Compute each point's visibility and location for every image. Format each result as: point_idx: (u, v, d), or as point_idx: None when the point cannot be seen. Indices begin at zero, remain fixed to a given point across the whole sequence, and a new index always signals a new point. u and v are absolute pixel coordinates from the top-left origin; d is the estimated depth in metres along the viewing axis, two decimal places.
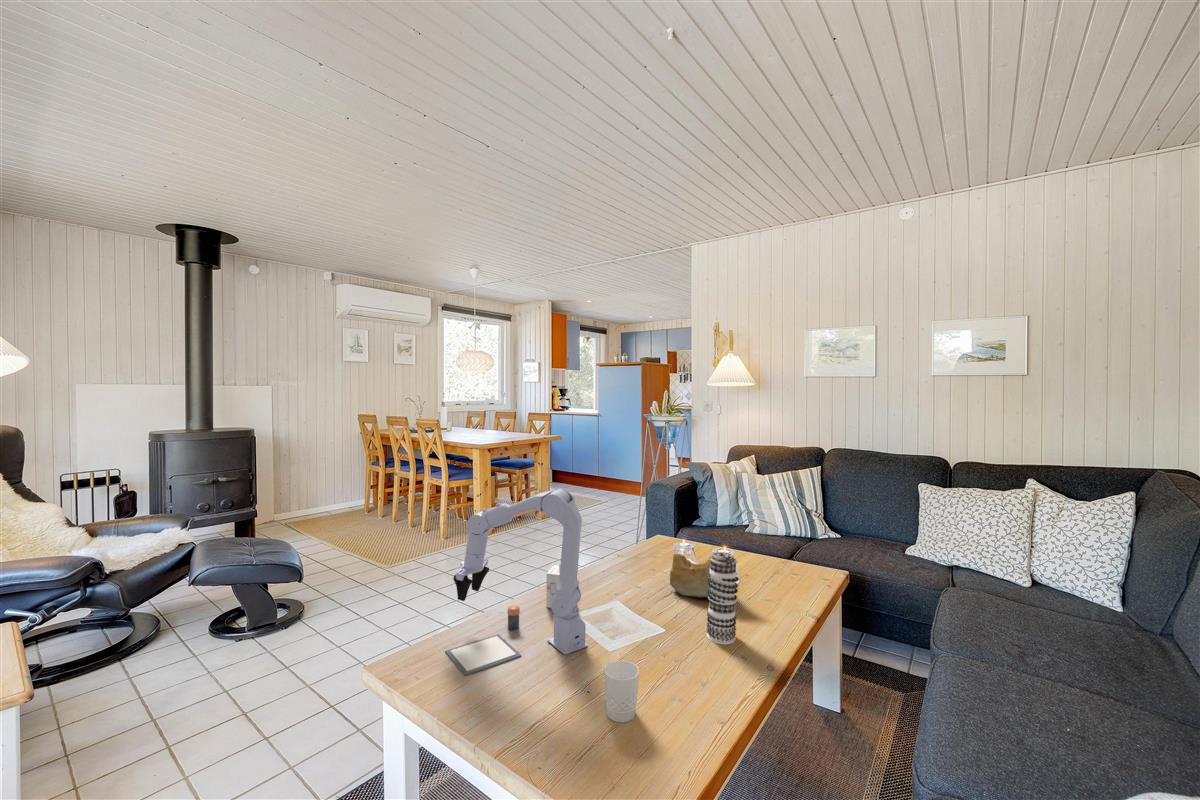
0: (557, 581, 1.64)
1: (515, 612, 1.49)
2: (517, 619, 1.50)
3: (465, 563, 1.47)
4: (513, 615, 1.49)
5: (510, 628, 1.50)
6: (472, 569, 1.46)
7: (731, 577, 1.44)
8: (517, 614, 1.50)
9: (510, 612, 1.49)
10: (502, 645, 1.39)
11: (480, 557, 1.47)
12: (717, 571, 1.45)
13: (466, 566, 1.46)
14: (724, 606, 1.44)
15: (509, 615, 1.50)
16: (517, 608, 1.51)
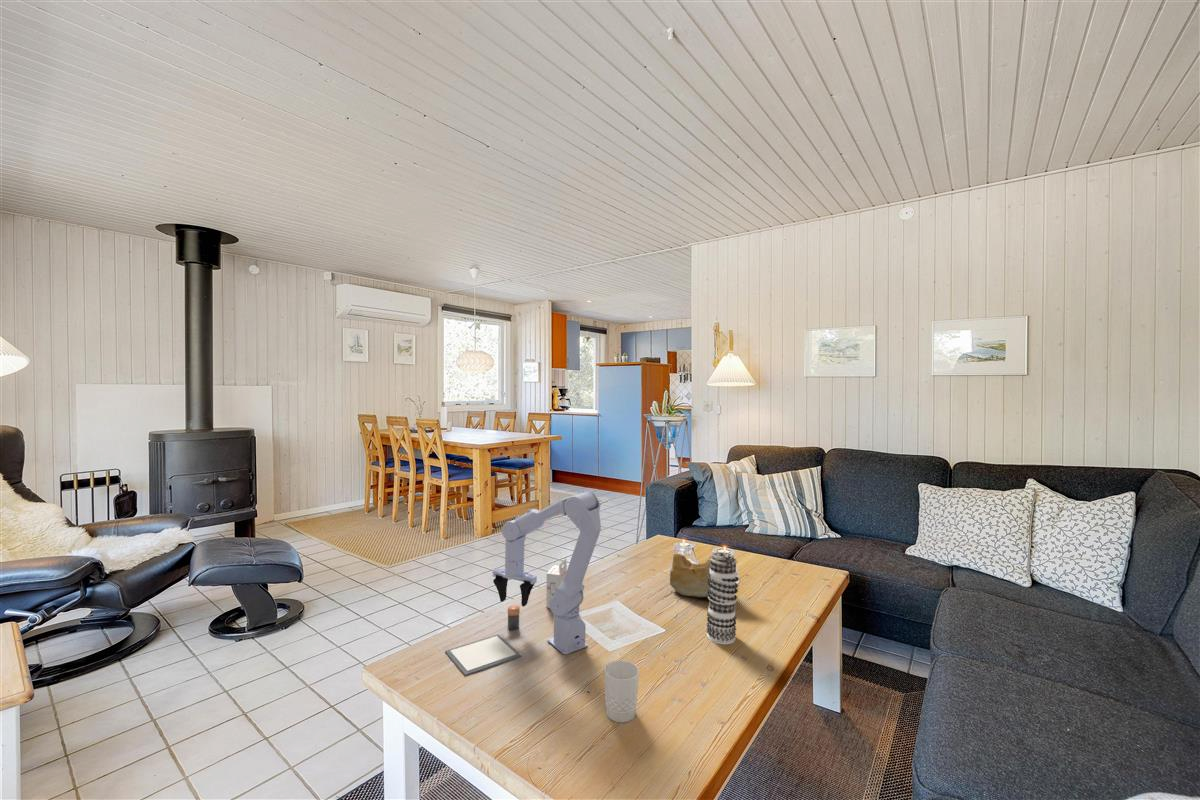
0: (557, 581, 1.64)
1: (515, 612, 1.49)
2: (517, 619, 1.50)
3: None
4: (513, 615, 1.49)
5: (510, 628, 1.50)
6: (504, 572, 1.51)
7: (731, 577, 1.44)
8: (517, 614, 1.50)
9: (510, 612, 1.49)
10: (502, 645, 1.39)
11: (506, 563, 1.49)
12: (717, 571, 1.45)
13: None
14: (724, 606, 1.44)
15: (509, 615, 1.50)
16: (517, 608, 1.51)
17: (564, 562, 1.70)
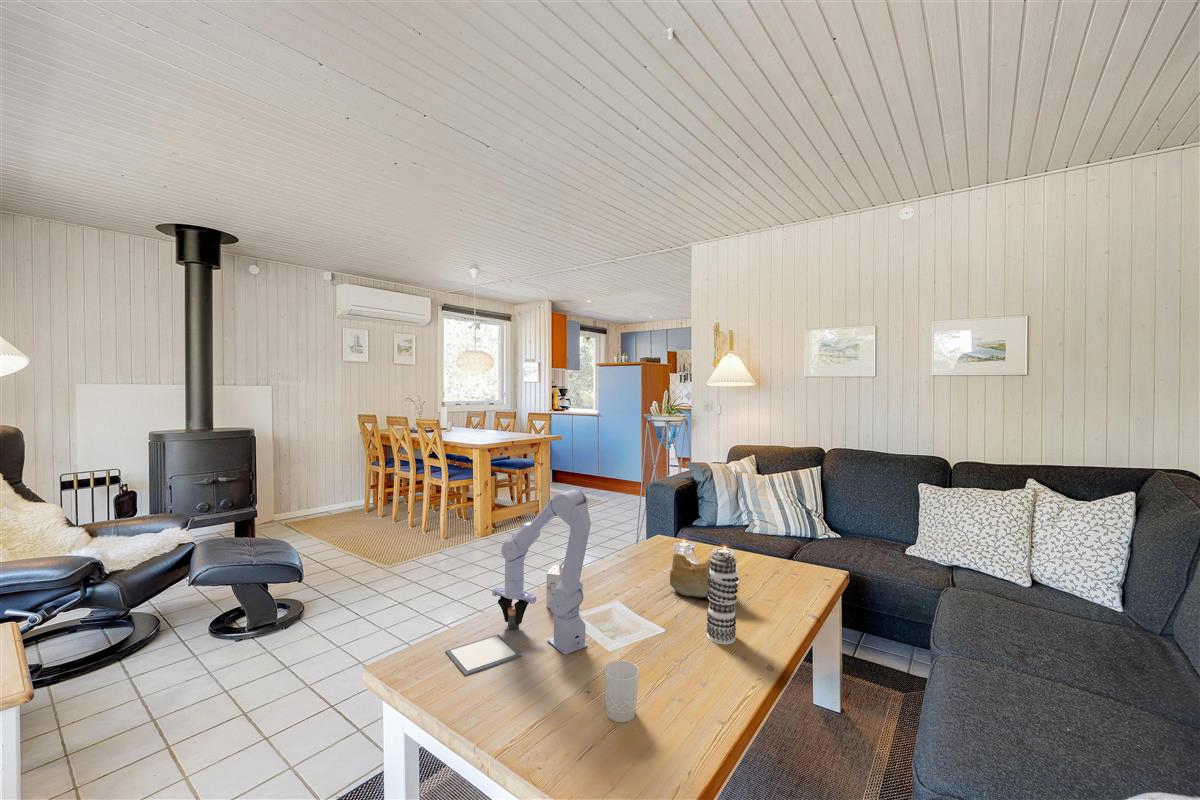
0: (557, 581, 1.64)
1: (515, 612, 1.49)
2: None
3: None
4: (513, 615, 1.49)
5: (510, 628, 1.50)
6: (504, 592, 1.51)
7: (731, 577, 1.44)
8: None
9: (510, 612, 1.49)
10: (502, 645, 1.39)
11: (506, 582, 1.49)
12: (717, 571, 1.45)
13: None
14: (724, 606, 1.44)
15: (509, 615, 1.50)
16: None
17: None
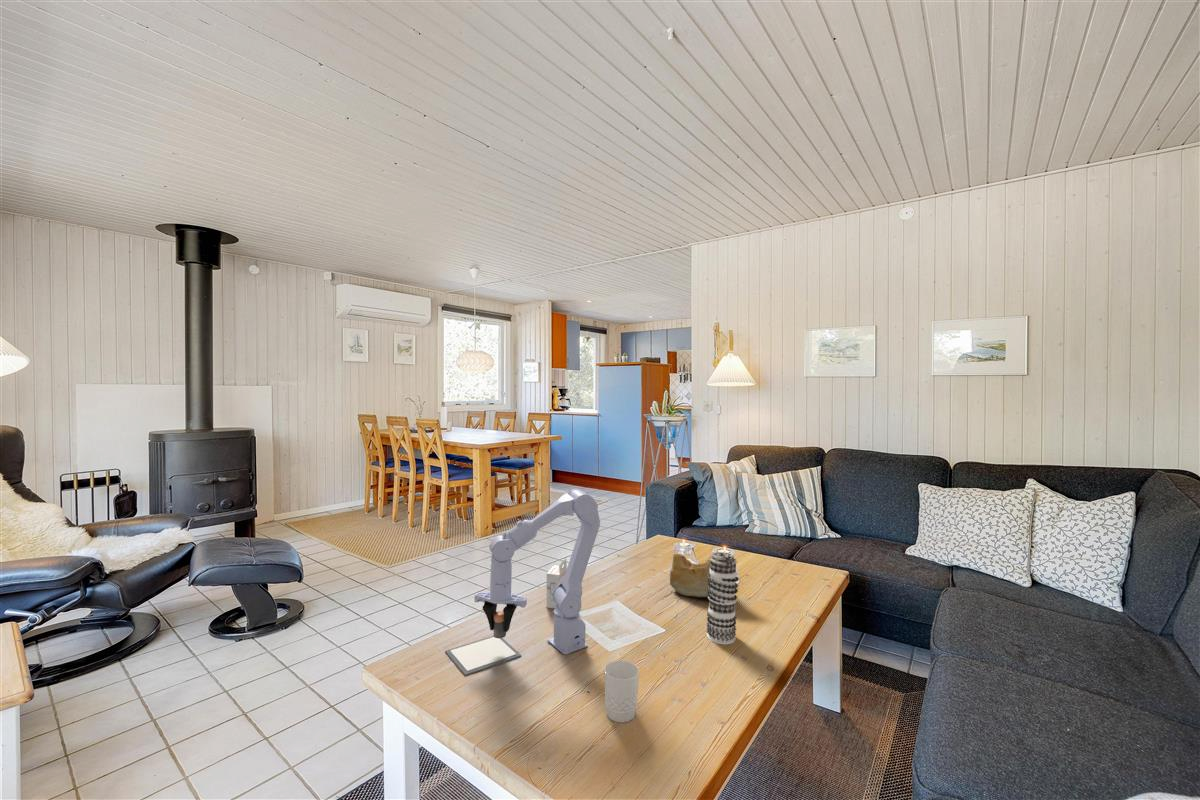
0: (557, 581, 1.64)
1: (503, 618, 1.35)
2: None
3: None
4: (501, 621, 1.35)
5: (497, 636, 1.35)
6: (489, 597, 1.35)
7: (731, 577, 1.44)
8: None
9: (497, 619, 1.34)
10: (502, 645, 1.39)
11: (493, 586, 1.34)
12: (717, 571, 1.45)
13: None
14: (724, 606, 1.44)
15: (496, 622, 1.35)
16: None
17: (564, 562, 1.70)
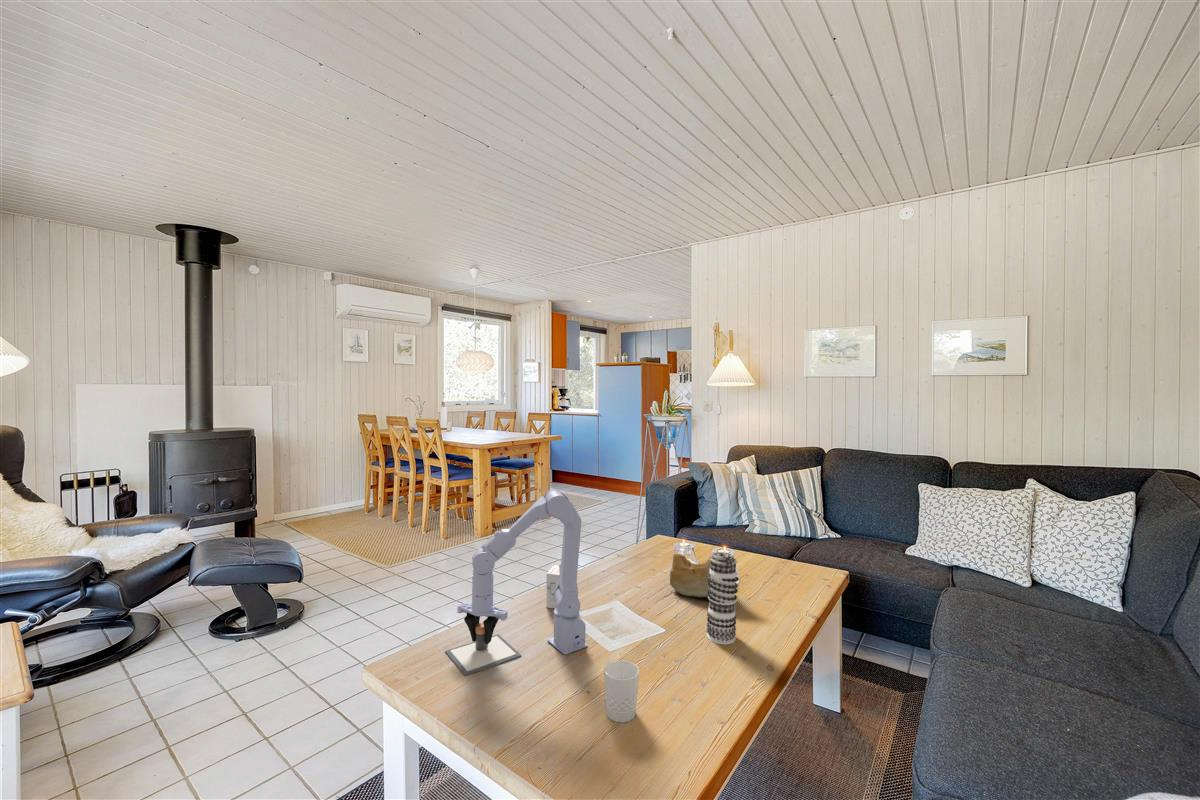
0: (557, 581, 1.64)
1: (484, 630, 1.35)
2: None
3: None
4: (482, 634, 1.35)
5: (478, 648, 1.35)
6: (471, 608, 1.36)
7: (731, 577, 1.44)
8: None
9: (479, 631, 1.35)
10: (502, 645, 1.39)
11: (473, 598, 1.35)
12: (717, 571, 1.45)
13: None
14: (724, 606, 1.44)
15: (477, 634, 1.35)
16: None
17: None
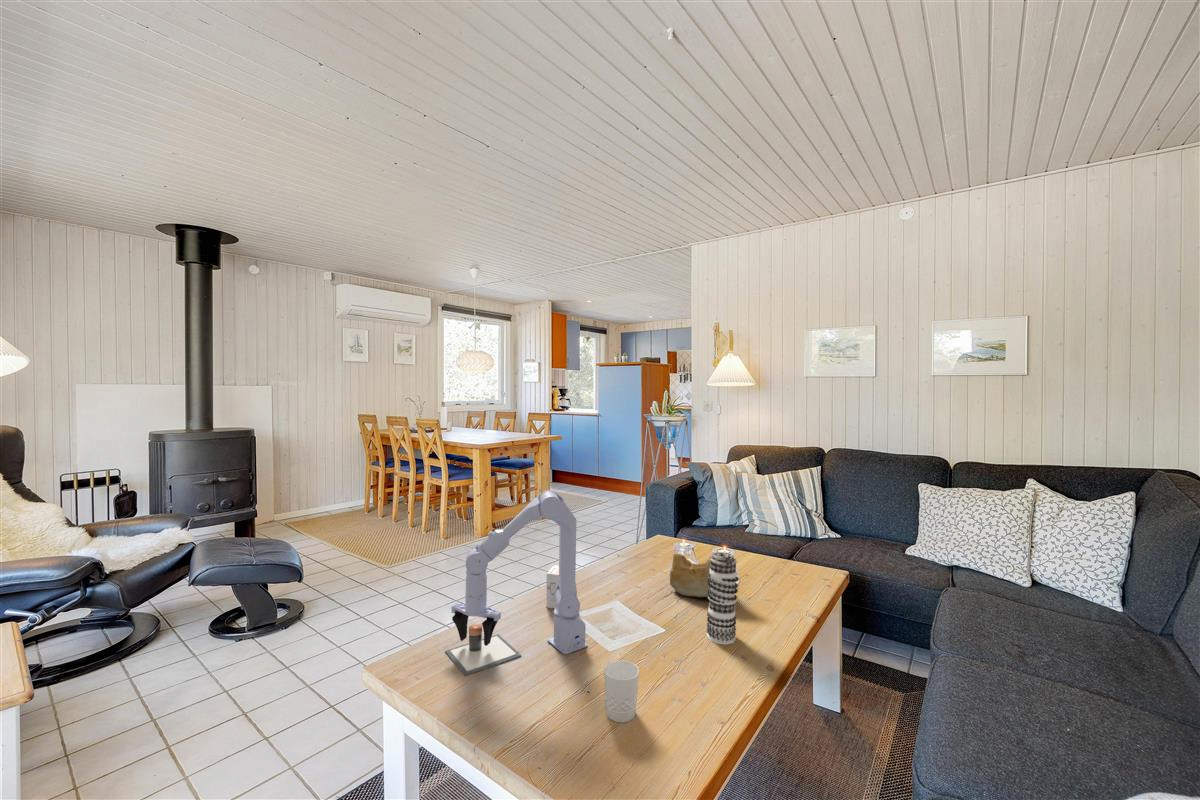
0: (557, 581, 1.64)
1: (477, 631, 1.36)
2: (479, 639, 1.36)
3: None
4: (475, 635, 1.36)
5: (472, 649, 1.36)
6: (465, 609, 1.37)
7: (731, 577, 1.44)
8: (479, 633, 1.36)
9: (472, 632, 1.36)
10: (502, 645, 1.39)
11: (467, 598, 1.35)
12: (717, 571, 1.45)
13: None
14: (724, 606, 1.44)
15: (471, 635, 1.36)
16: (479, 627, 1.37)
17: None
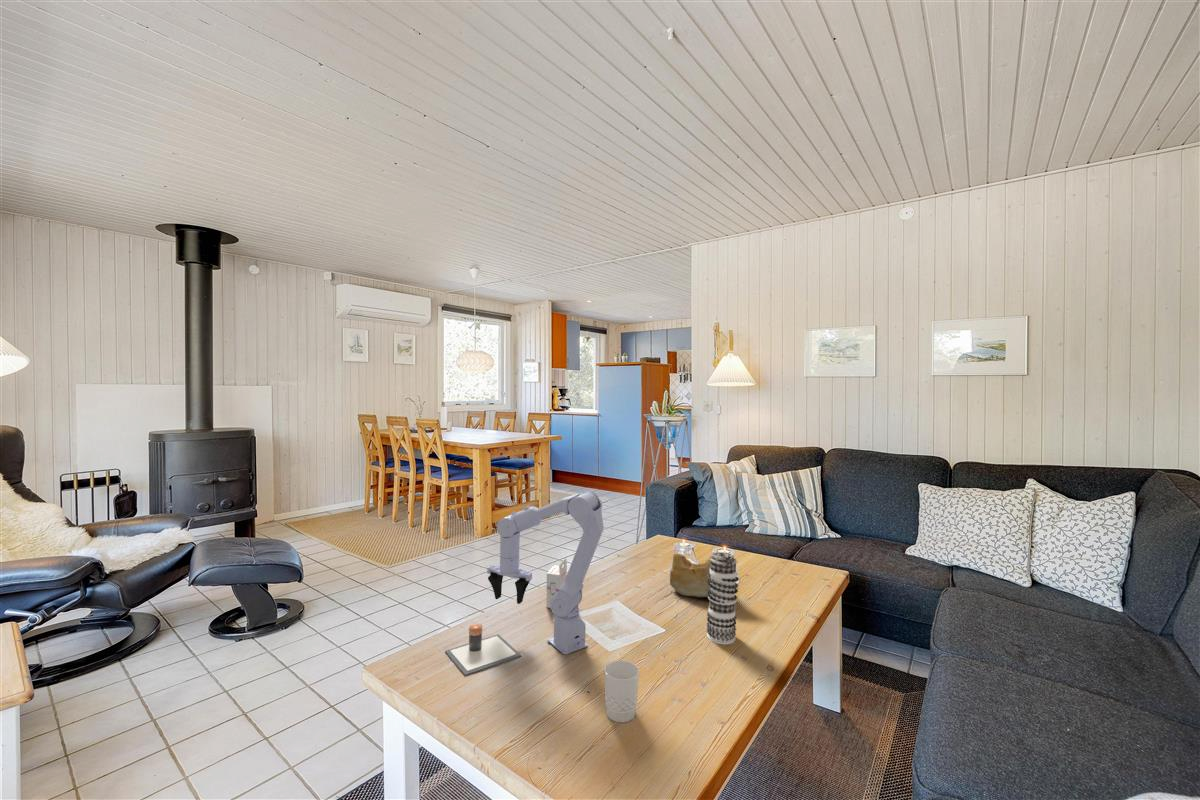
0: (557, 581, 1.64)
1: (477, 631, 1.36)
2: (480, 639, 1.36)
3: None
4: (475, 635, 1.36)
5: (472, 649, 1.36)
6: (499, 569, 1.48)
7: (731, 577, 1.44)
8: (480, 634, 1.36)
9: (472, 632, 1.36)
10: (502, 645, 1.39)
11: (501, 559, 1.46)
12: (717, 571, 1.45)
13: None
14: (724, 606, 1.44)
15: (471, 635, 1.36)
16: (479, 627, 1.37)
17: (564, 562, 1.70)
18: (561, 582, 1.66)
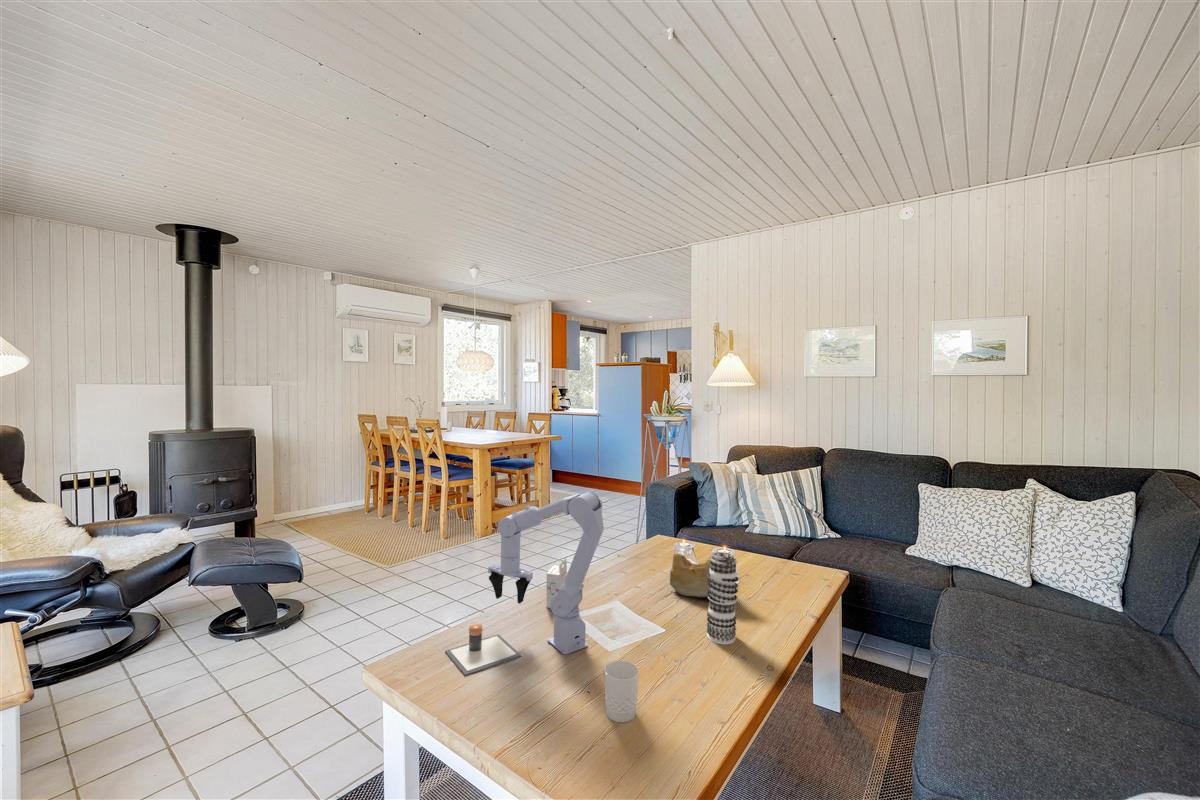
0: (557, 581, 1.64)
1: (477, 631, 1.36)
2: (480, 639, 1.36)
3: None
4: (475, 635, 1.36)
5: (472, 649, 1.36)
6: (500, 569, 1.49)
7: (731, 577, 1.44)
8: (480, 633, 1.36)
9: (472, 632, 1.36)
10: (502, 645, 1.39)
11: (502, 559, 1.47)
12: (717, 571, 1.45)
13: None
14: (724, 606, 1.44)
15: (471, 635, 1.36)
16: (479, 627, 1.37)
17: (564, 562, 1.70)
18: (561, 582, 1.66)
